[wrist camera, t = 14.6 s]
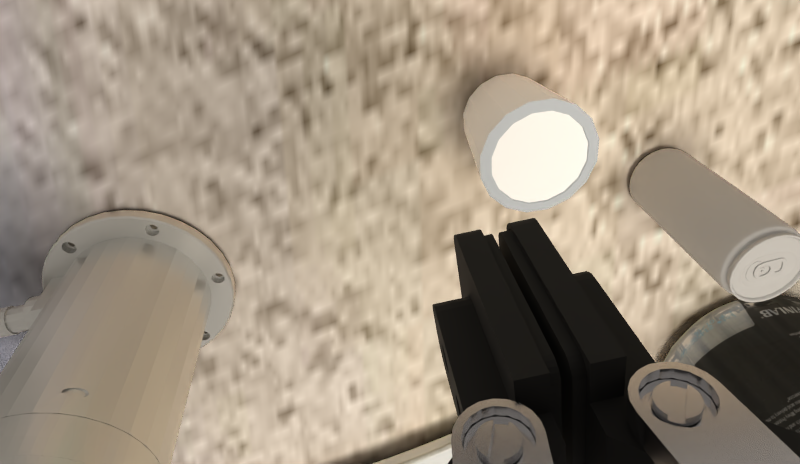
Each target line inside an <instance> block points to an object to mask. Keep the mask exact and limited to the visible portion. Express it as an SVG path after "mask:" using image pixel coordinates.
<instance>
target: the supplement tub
mask: <svg viewBox="0 0 800 464" xmlns="http://www.w3.org/2000/svg"><path fill="white" fill-rule="evenodd" d="M663 362H679V363H683V364H688V365H692V366H694V367H696V368H699V369H701V370H703V371H705V372H707V373H708V374H710V375H711V376H712V377H714V378H715V379H716V380H718V381H719V382H720V383H721V384H722V385H723V386H724V387H725V388H726V389H728V390H729V391H730V392H731V393H732V394H733V395H734V396H735V397H736V398H737V399H738V400H739V401H740V402H741V403H742V404H743V405H744V406H745V407H747V408H748V409H749V410H750V411H751V412H752V413H753V414H754V415H755V416H756V417H757V418H758V419H761V420H764V421H767V422H769V423H772V424H775V425H778V426H781V427H783V428H786V429H789V430H792V431H794V432H797V433H800V300H799V299H797V298H793V297H787V296H782V295H778V296H776V297H774V298H771V299H769V300H766V301H761V302H745V301H742V300H737V301H734V302H730V303H728V304H725V305H723V306H721V307H719V308H717V309H715V310H713V311H711V312H709V313H708V314H706V315H705V316H703V317H702V318H701V319H699V320H698V321H697V322H696V323H694V324H693V325H692V326H691V327H690V328H689V329H688V330H687V331H686V332H685V333H684V334H683V335H682V336H681V337H680V338H679V339H678V340H677V342H676V343H675V344H674V345H673V346H672V347H671V349H670V351H669V353H668V354H667V356H666V358H665V360H664V361H663Z"/></svg>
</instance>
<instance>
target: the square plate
mask: <svg viewBox="0 0 800 464" xmlns="http://www.w3.org/2000/svg"><path fill="white" fill-rule="evenodd" d="M451 437H452V434H449V435H447V436H444V437H442V438H439V439H437V440H434V441H432V442H429V443H427V444H424V445H422V446H419V447H417V448H414V449H411V450H409V451H406V452H403V453H400V454H398V455H395V456H392V457H389V458H387V459H384V460H381V461H378V462H375V463H372V464H448V462H449V461H450V460H451V458H452V446H451Z"/></svg>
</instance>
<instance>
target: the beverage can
mask: <svg viewBox="0 0 800 464" xmlns="http://www.w3.org/2000/svg"><path fill="white" fill-rule="evenodd" d="M629 188H630V194H631V196H632V198H633V200H634V201H635V202H636V203H637V204H638V205H639V206H640V207H641V208H642V209H643V210H644V211H645V212H646V213H647V214H648V215H649V216H650V217H651V218H652V219H653V220H654V221H655V222H656V223H657V224H658V225H659V226H660V227H661V228H662V229H663V230H665V231H666V232H667V233H668V234H669V235H670V236H671V237H672V238H673V239H674V240H675V241H676V242H677V243H678V244H679V245H680V246H681V247H682V248H683V249H684V250H685V251H686V252H687V253H688V254H689V255H690V256H691V257H692V258H693V259H694V260H695V261H696V262H697V263H698V264H699V265H700V266H701V267H702V268H703V269H704V270H705V271H706V272H707V273H708V274H709V275H710V276H711V277H712V278H713V279H714V280H715V281H716V282H717V283H718V284H719V285H720V286H721V287H722V288H724V289H725V290H726V291H727V292H728V293H730V294H733V295H734V296H735V297H737V298H738V299H740V300H742V301H745V302H761V301H766V300H769V299H771V298H774V297H776V296H778V295H780V294H782V293H784V292H785V291H787V290H788V289H789V288H791V287H792V286H793V285H794V284H795V283H796V282H797V281H798V280H799V279H800V234H799V233H798V232H797V231H796V230H795V229H794V228H792V227H791V226H790V225H788V224H787V223H785V222H784V221H783V220H781V219H780V218H778V217H777V216H776V215H774V214H773V213H771V212H770V211H769V210H767V209H766V208H764V207H763V206H762V205H760V204H759V203H757V202H756V201H755V200H753V199H752V198H750V197H749V196H748V195H746V194H745V193H743V192H742V191H741V190H739V189H738V188H736V187H735V186H733V185H732V184H731V183H729V182H728V181H726V180H725V179H723V178H722V177H720V176H719V175H718V174H716V173H715V172H713V171H712V170H710V169H709V168H707V167H706V166H704V165H703V164H702V163H700V162H699V161H697V160H696V159H694V158H693V157H692V156H690V155H689V154H687V153H686V152H683V151H681V150H678V149H673V148H667V149H661V150H658V151H655V152H653V153H651V154H649V155H648V156H646V157H645V158H644V159H642V160H641V161H640V162H639V163H638V165H637V166H636V168H635V169H634V171H633V174H632V176H631V179H630V185H629Z"/></svg>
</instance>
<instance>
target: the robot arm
mask: <svg viewBox="0 0 800 464" xmlns="http://www.w3.org/2000/svg"><path fill="white" fill-rule="evenodd" d="M154 225H155V226H154ZM454 244H455V251H456V258H457V265H458V272H459V279H460V286H461V294H462V298H461V299H456V300H451V301H447V302H442V303H437V304H433V312H434V318H435V323H436V329H437V334H438V339H439V344H440V349H441V353H442V357H443V362H444V366H445V370H446V374H447V377H448V381H449V385H450V389H451V392H452V396H453V400H454V404H455V407H456V411H457V415H458V418H457V420H456V422H455V424H454V426H453V428H452V437H451V446H452V458H451V460H450V461H449V462H448V464H800V433H797V432H794V431H792V430H789V429H786V428H783V427H781V426H778V425H775V424H772V423H769V422H767V421H764V420H761V419H758V418H757V417H756V416H755V415H754V414H753V413H752V412H751V411H750V410H749V409H748V408H747V407H745V406H744V405H743V404H742V403H741V402H740V401H739V400H738V399H737V398H736V397H735V396H734V395H733V394H732V393H731V392H730V391H729V390H728V389H726V388H725V387H724V386H723V385H722V384H721V383H720V382H719V381H718V380H716V379H715V378H714V377H712V376H711V375H710V374H708V373H707V372H705V371H703V370H701V369H699V368H696V367H694V366H692V365H688V364H683V363H679V362H657V363H655V361H654V360H653V359H652V357H651V356H650V354H649V353H648V352H647V350H646V349H645V347H644V346H643V345H642V343H641V342H640V340H639V339H638V338H637V336H636V335H635V333H634V332H633V331H632V329H631V328H630V326H629V325H628V324H627V322H626V321H625V319H624V318H623V317H622V315H621V314H620V312H619V311H618V310H617V308H616V307H615V305H614V304H613V303H612V301H611V300H610V298H609V297H608V296H607V294H606V293H605V291H604V290H603V289H602V287H601V286H600V284H599V283H598V282H597V280H596V279H595V277H594V276H593V275H592V274H591V273H590V272H587V271H585V272H581V273H576V274H572V273H571V271H570V270H569V268H568V267H567V265H566V264H565V262H564V261H563V259H562V258H561V256H560V255H559V253H558V252H557V250H556V249H555V247H554V245H553V244H552V242H551V241H550V239H549V238H548V236H547V235H546V233H545V232H544V230H543V229H542V227H541V226H540V224H539V223H538V221H537V220H536V219H535V218H532V219H527V220H522V221H518V222H513V223H508V224H507V231H504V232H500V233H499V246H498V244H497V242H496V240H495V239H494V237H493V235H492V234H490V235H486V236H484V235H483V233H482V231H481V230H476V231H471V232H466V233H462V234H457V235H454ZM42 289H43V292H42V294H41V295H40V296H35V297H31V298H29V299H28V300H27V301H26V302H25V305H20V306H15V307H14V306H10V307H5V308H0V338H2V337H7V336H11V335H16V334H19V333H20V332H24V331H28V330H29V331H28V332H27V334H26V335H25V337H24V338H23V340H22V341H21V343H20V344H19V346H18V347H17V349H16V350H15V352H14V354H13V355H12V357H11V358H10V360H9V361H8V363H7V364H6V366H5V367H4V369H3V370H2V372H1V373H0V464H171V460H172V456H173V452H174V448H175V445H176V441H177V437H178V433H179V429H180V425H181V421H182V417H183V413H184V409H185V405H186V401H187V397H188V393H189V390H190V386H191V382H192V378H193V374H194V370H195V366H196V362H197V358H198V354H199V350H200V348H202V347H204V346H205V345H206V344H208V343H209V342H211V341H212V340H213V339H215V338H216V337H217V336H218V334H219V333H220V332H221V331H222V330H223V329H224V328H225V326H226V324H227V322H228V320H229V319H230V316H231V313H232V309H233V305H234V299H235V292H236V291H235V282H234V277H233V274H232V271H231V268H230V265H229V264H228V262H227V260H226V259H225V257H224V256H223V254H222V252H221V251H220V250H219V249H218V248H217V247H216V246H215V245H214V244H213V243H212V241H211V240H209V239H208V238H207V237H205V236H204V235H203V234H201V233H200V232H199V231H198V230H196V229H194V228H192V227H191V226H189V225H187V224H185V223H183V222H181V221H179V220H176V219H173V218H170V217H168V216H165V215H162V214H157V213H152V212H146V211H135V210H120V211H112V212H104V213H101V214H98V215H94V216H91V217H88V218H86V219H84V220H82V221H80V222H78V223H76V224H74V225H73V226H71V227H70V228H69V229H68V230H67V231H66V232H64V233H63V234H62V235H61V236H60V237H59V239H58V240H57V241H56V243H55V244H54V245H53V246H52V248H51V249H50V251H49V253H48V255H47V257H46V259H45V261H44V265H43V270H42Z"/></svg>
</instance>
